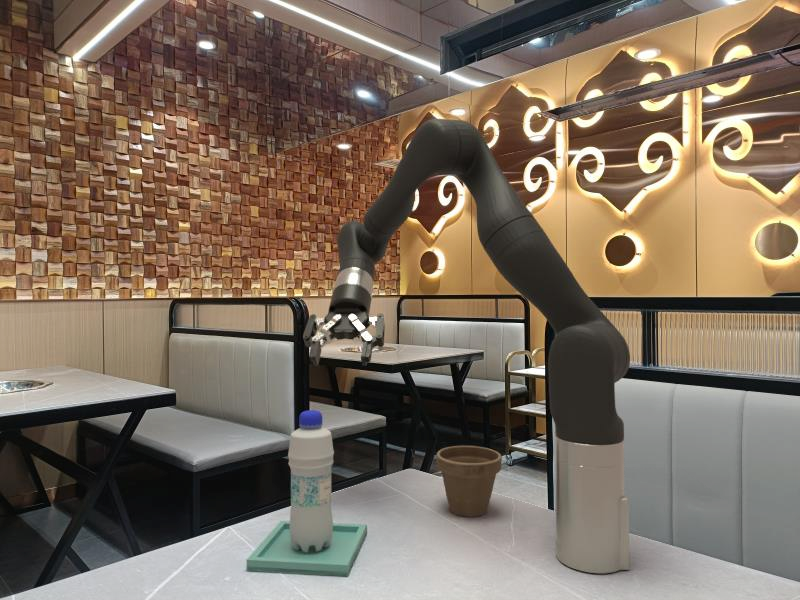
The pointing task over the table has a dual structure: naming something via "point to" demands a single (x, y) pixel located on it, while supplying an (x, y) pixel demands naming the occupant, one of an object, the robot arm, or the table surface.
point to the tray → (327, 561)
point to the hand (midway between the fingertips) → (339, 362)
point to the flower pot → (468, 477)
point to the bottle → (311, 483)
